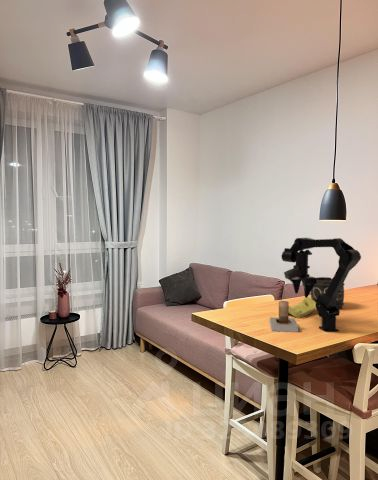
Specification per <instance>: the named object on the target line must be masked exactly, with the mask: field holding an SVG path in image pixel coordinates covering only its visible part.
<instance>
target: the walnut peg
mask: <svg viewBox="0 0 378 480" xmlns="http://www.w3.org/2000/svg"><path fill="white" fill-rule="evenodd" d="M289 304H290V302H289V301H286V300H279V301H278V318H279V323H288V318H289V314H290V313H289V306H290V305H289Z"/></svg>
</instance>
